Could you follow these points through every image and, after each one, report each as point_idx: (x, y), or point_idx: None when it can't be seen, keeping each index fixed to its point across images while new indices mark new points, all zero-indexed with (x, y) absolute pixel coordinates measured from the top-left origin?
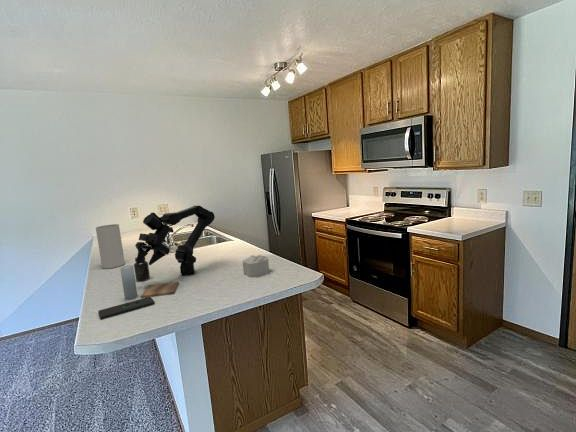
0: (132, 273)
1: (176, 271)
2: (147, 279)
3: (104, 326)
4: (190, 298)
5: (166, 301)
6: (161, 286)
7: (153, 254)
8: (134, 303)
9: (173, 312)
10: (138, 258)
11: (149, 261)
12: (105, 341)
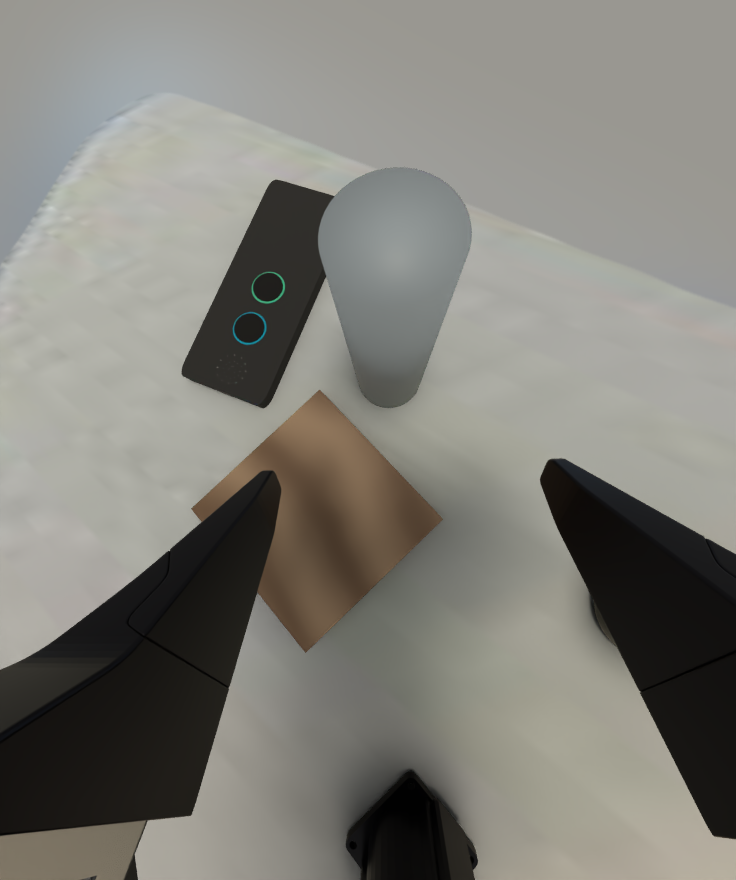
0: (336, 309)
1: (563, 856)
2: (595, 611)
3: (207, 175)
4: (72, 499)
5: (161, 423)
6: (335, 536)
7: (135, 610)
8: (255, 316)
9: (43, 363)
10: (592, 506)
11: (255, 490)
12: (104, 135)
